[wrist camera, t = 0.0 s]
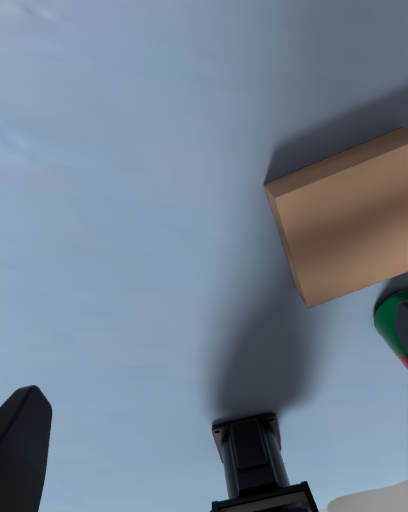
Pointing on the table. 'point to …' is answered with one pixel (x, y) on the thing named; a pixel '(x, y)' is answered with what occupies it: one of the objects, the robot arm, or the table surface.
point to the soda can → (391, 324)
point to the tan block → (345, 218)
